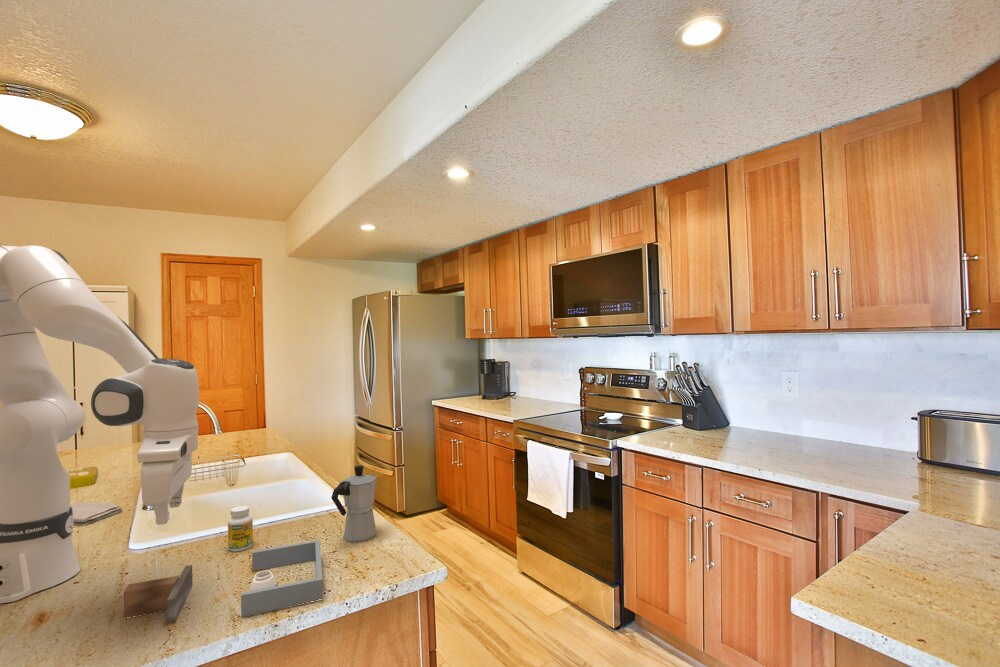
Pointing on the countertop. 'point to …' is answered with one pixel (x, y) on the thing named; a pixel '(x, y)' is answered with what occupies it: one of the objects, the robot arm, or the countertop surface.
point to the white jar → (263, 581)
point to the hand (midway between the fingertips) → (169, 514)
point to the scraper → (159, 596)
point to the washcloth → (93, 512)
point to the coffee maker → (357, 505)
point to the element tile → (83, 477)
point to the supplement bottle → (240, 529)
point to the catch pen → (284, 593)
